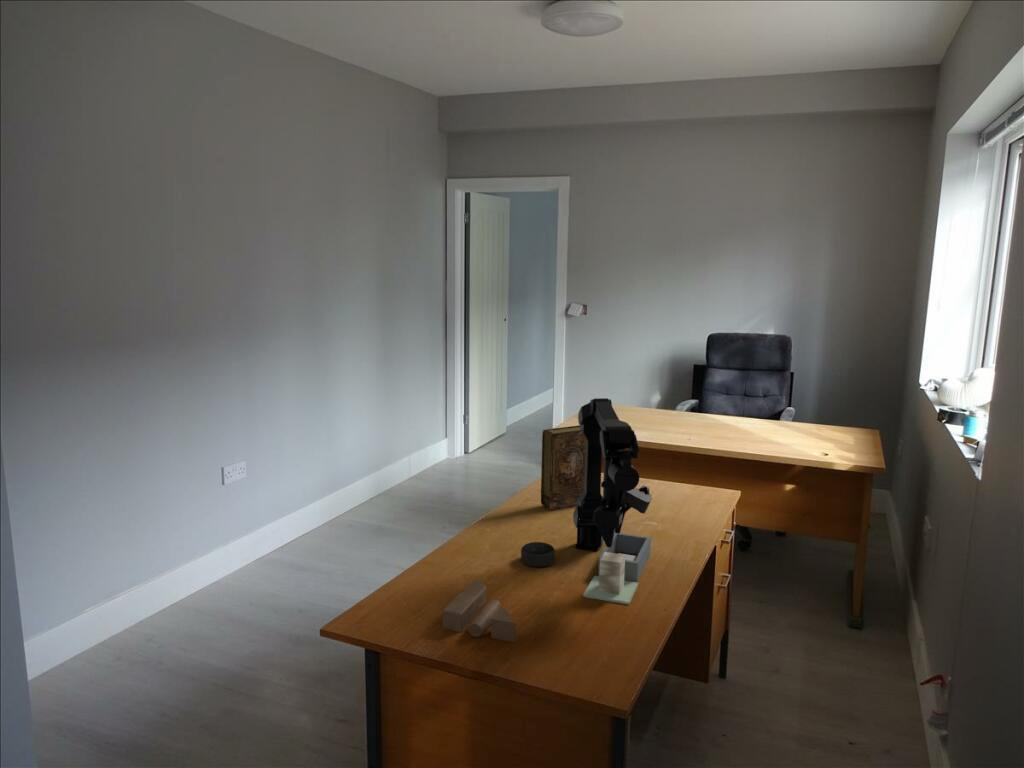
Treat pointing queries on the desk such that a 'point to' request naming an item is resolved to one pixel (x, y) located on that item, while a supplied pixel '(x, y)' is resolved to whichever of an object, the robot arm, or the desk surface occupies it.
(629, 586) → the sage mat
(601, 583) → the ash block
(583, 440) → the book
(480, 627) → the wooden block set
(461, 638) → the desk surface
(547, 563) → the smart speaker
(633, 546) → the slotted box
